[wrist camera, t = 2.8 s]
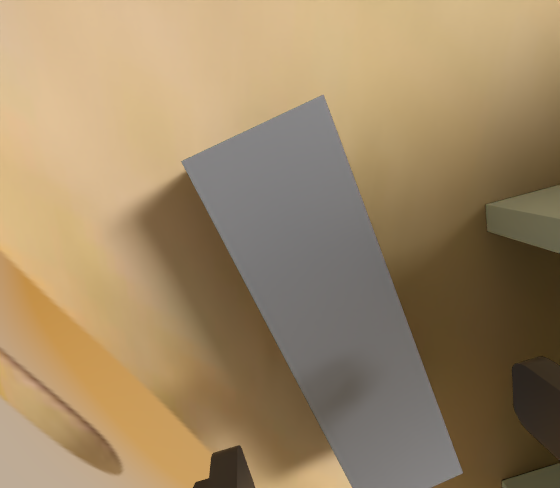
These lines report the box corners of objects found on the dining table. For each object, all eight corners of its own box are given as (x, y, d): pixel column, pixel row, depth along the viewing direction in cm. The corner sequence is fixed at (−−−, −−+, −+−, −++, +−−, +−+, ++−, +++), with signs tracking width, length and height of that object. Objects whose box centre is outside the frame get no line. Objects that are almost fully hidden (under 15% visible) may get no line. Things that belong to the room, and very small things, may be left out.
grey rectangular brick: (297, 114, 15) (323, 94, 10) (410, 397, 20) (463, 472, 15) (200, 160, 15) (181, 161, 10) (337, 430, 20) (367, 516, 15)
